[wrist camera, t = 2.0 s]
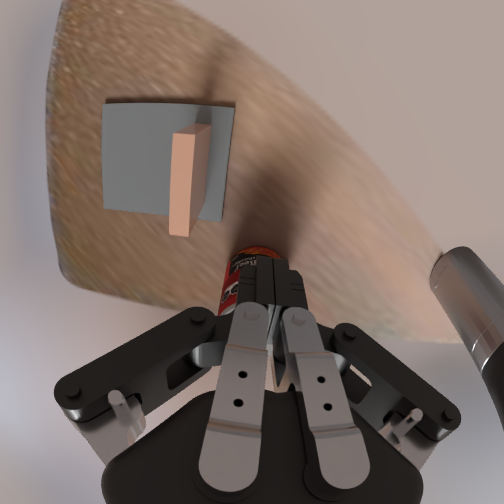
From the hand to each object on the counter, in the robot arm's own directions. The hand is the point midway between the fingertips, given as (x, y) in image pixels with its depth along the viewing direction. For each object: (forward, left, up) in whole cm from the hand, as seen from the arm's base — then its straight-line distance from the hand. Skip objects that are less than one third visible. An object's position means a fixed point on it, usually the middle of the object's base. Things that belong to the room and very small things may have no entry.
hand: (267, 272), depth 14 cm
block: (+7, 0, -19) cm, 20 cm away
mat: (+11, 0, -19) cm, 22 cm away
